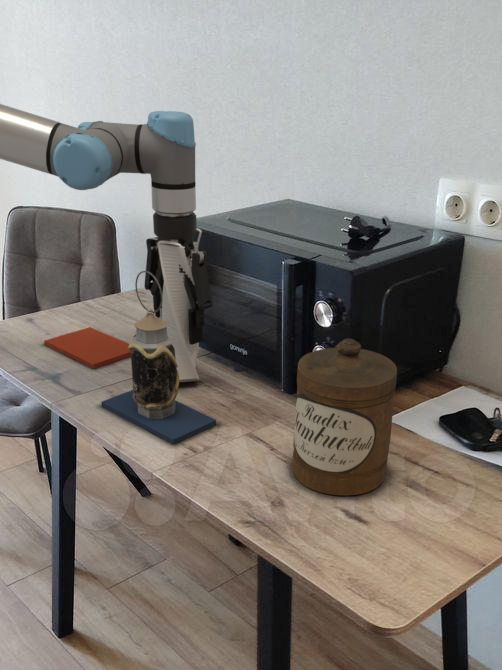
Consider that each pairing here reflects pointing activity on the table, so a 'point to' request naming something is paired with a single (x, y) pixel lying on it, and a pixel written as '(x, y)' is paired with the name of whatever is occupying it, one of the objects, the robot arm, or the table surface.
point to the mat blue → (167, 428)
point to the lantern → (153, 365)
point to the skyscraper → (178, 305)
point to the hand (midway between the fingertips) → (179, 335)
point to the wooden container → (343, 419)
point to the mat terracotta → (90, 347)
